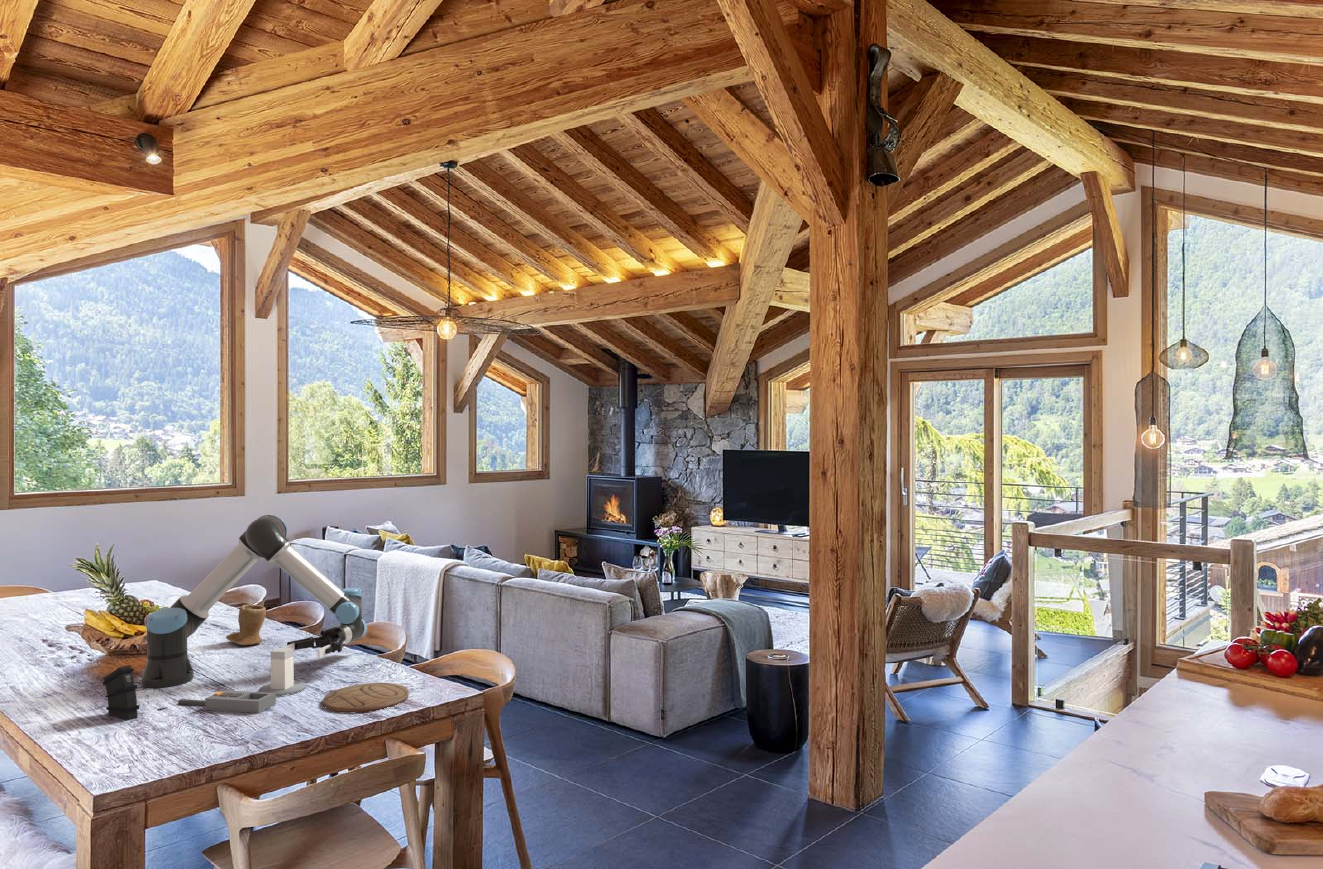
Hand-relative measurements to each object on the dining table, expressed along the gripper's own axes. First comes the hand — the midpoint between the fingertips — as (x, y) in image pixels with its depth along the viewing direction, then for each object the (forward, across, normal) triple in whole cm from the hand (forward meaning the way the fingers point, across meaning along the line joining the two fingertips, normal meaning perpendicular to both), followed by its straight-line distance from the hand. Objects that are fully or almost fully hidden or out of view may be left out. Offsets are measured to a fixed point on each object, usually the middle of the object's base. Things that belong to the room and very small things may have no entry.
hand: (299, 652), depth 284 cm
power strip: (+27, +8, -9) cm, 29 cm away
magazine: (+39, +32, -10) cm, 52 cm away
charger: (+9, 0, -9) cm, 13 cm away
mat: (+9, 0, -10) cm, 13 cm away
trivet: (+14, -32, -10) cm, 36 cm away
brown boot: (-44, +52, -10) cm, 69 cm away
